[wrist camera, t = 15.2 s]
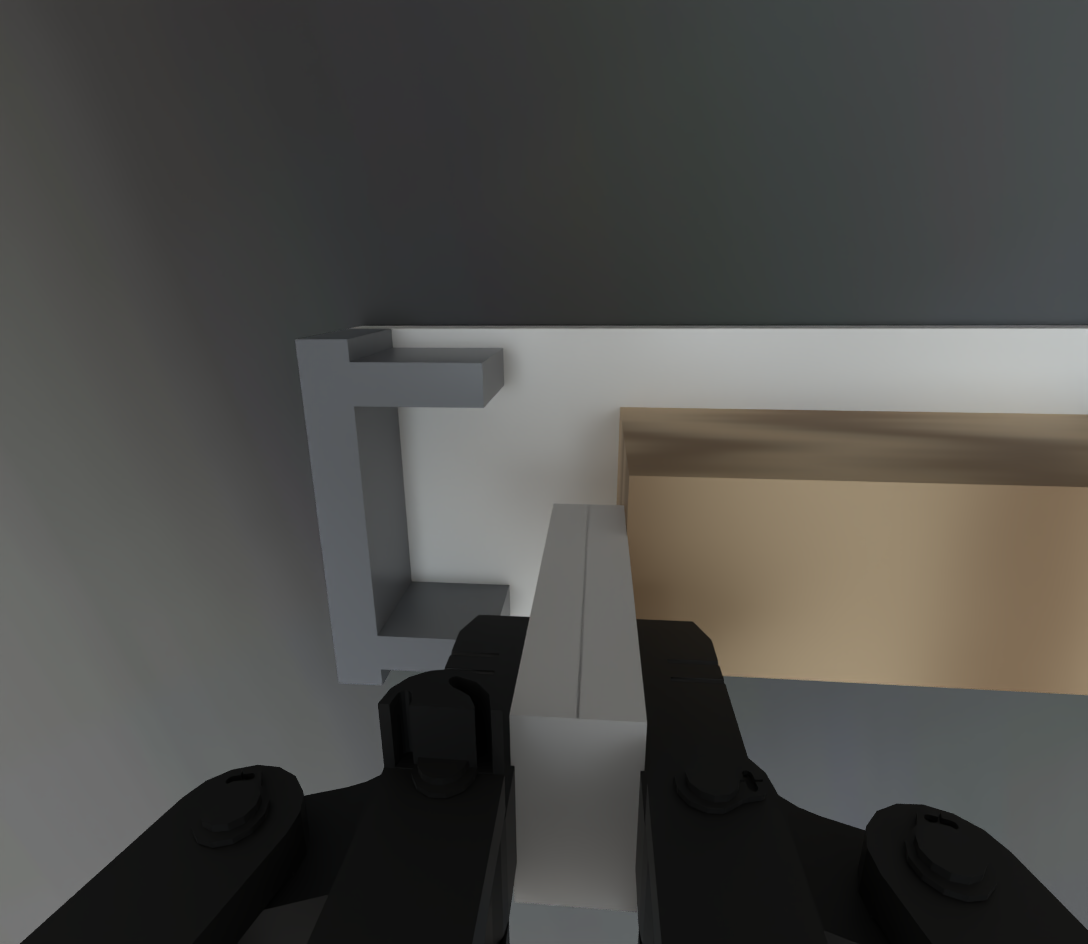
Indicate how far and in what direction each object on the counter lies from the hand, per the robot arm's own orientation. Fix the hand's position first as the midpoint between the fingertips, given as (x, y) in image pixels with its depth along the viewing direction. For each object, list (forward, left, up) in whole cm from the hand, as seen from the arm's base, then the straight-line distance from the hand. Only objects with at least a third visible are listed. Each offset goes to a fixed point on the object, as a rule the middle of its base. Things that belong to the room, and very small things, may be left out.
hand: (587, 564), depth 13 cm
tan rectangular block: (-1, +8, -5) cm, 9 cm away
